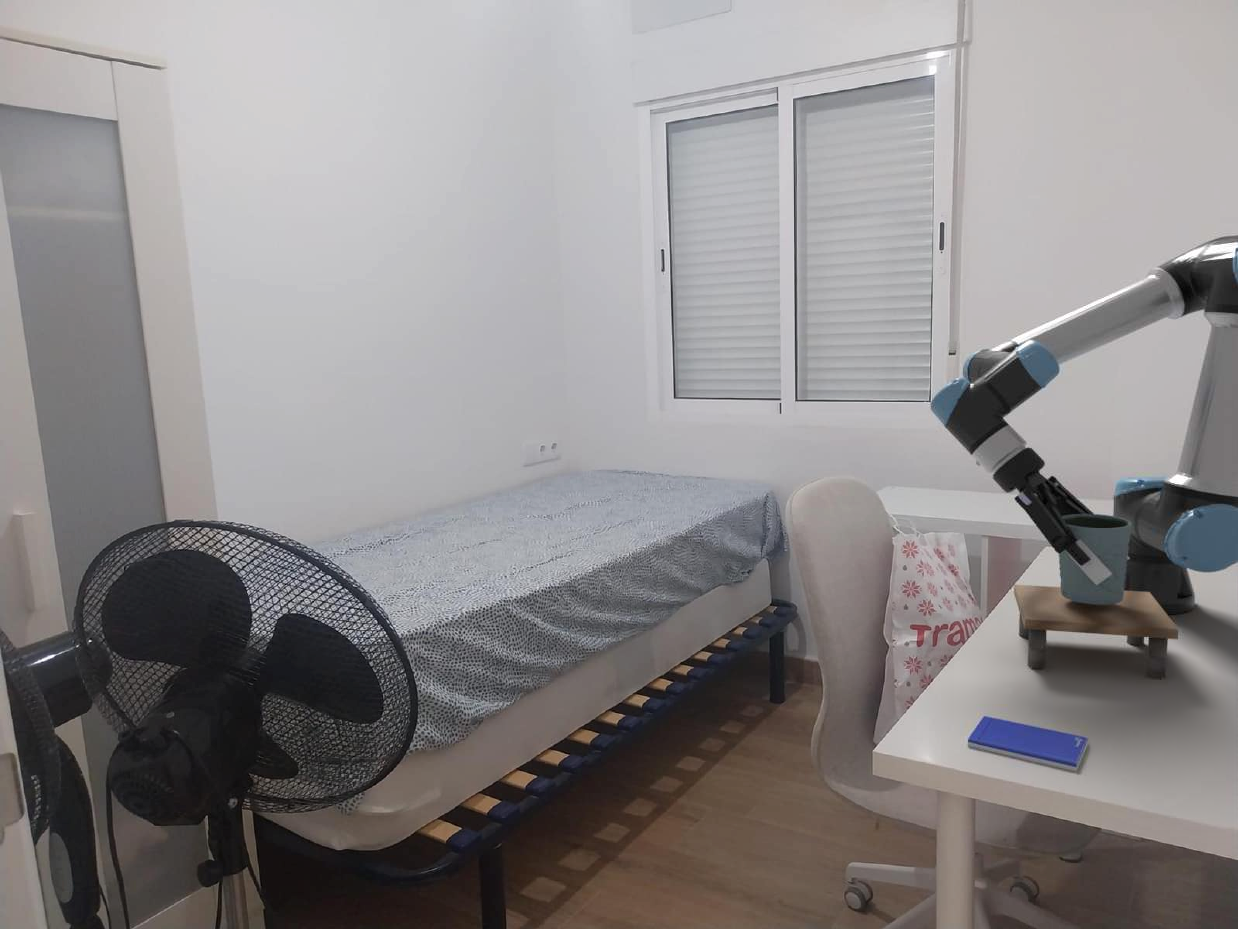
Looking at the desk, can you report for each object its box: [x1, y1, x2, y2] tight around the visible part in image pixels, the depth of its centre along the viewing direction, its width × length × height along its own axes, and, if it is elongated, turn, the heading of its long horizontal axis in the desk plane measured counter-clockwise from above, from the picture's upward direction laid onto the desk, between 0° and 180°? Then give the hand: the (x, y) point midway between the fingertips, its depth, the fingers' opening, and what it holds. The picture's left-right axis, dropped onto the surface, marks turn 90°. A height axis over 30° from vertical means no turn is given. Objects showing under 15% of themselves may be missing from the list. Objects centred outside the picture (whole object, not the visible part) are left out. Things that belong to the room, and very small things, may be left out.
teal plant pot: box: [1058, 513, 1132, 605], centre depth 140 cm, size 10×10×12 cm
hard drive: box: [967, 715, 1089, 772], centre depth 114 cm, size 2×8×12 cm
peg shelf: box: [1013, 584, 1179, 680], centre depth 141 cm, size 20×18×8 cm
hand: (1113, 571), depth 138 cm, fingers closed on teal plant pot, 10 cm apart
